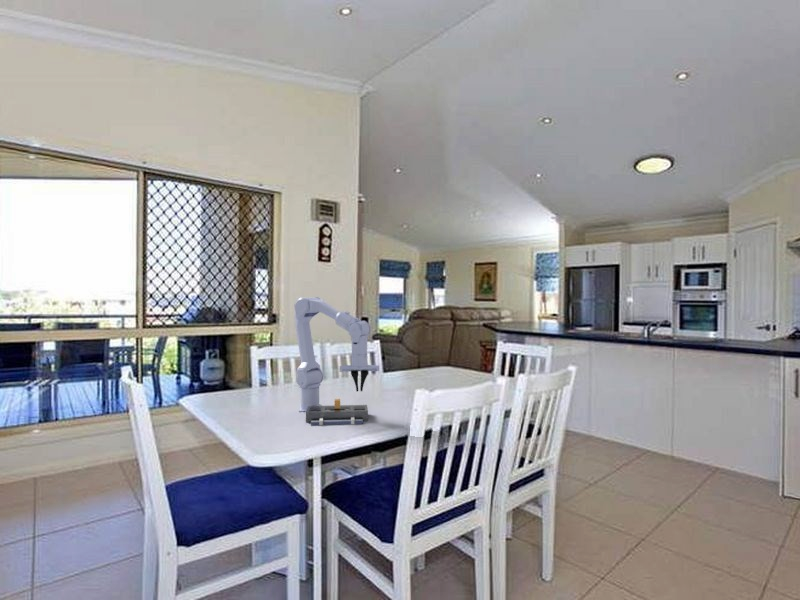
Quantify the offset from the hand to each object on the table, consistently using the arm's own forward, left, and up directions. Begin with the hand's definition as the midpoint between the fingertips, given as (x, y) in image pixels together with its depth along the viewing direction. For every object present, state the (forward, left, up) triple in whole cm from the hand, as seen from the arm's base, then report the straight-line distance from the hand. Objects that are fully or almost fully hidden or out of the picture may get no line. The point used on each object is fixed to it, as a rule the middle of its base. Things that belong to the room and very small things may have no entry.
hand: (359, 390), depth 174 cm
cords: (+7, -8, -10) cm, 14 cm away
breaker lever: (0, -8, -6) cm, 10 cm away
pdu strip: (0, -8, -10) cm, 13 cm away
